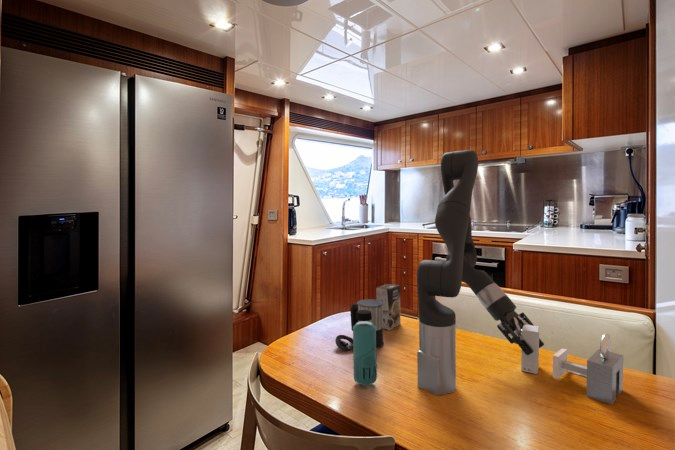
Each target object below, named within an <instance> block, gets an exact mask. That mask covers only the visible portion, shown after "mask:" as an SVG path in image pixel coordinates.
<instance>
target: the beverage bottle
mask: <svg viewBox="0 0 675 450" xmlns="http://www.w3.org/2000/svg"><path fill="white" fill-rule="evenodd" d="M356 319H357V320H359V321H361V322H358V323H356V324H355V325H354V326H353V331H352V339H353V350H352V351H353V354H352V355H353V356H352V358H353V359H352V360H353V362H352V364H353V381H354V382H355V383H357V384H359V385H363V386H364V385H366V386H369V385H372V384H375V383H376V381H377V379H378V370H377V369H378V364H377V359H378V358H377V357H378V356H377V348H376V346H377V345H376V344H377V341H376V327H375V326H374V325H373V324H372V323H371V322H367V321H369V320H371V319H372V316H371V311H369V310H359V311H357V316H356Z"/></svg>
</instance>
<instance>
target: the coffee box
mask: <svg viewBox="0 0 675 450" xmlns="http://www.w3.org/2000/svg"><path fill="white" fill-rule="evenodd" d="M375 296H376V300H380V301H382V302H384V304H383V330H386V329H387V331H391V330H393V329H395V328H396V327H398V326H400V325H401V285H399V284H393V283H390V284H389V283H386V284H384V285H380V286H377V287H376V293H375ZM399 324H400V325H399ZM394 327H395V328H394Z"/></svg>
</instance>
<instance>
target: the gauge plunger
mask: <svg viewBox="0 0 675 450" xmlns="http://www.w3.org/2000/svg"><path fill="white" fill-rule="evenodd" d="M568 370H570V371H574V372H577V373H580V374H584V375H587V365H582V364H578V363H575V362H571V361H568V349H567V348H561V349H559V350H558V351H556V352H555V353H554V354H553V355H552V378H554V379H555V380H559V379H560V378H561V377H562V376H563V375H564V374H565V373H568V372H567V371H568Z"/></svg>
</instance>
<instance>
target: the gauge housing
mask: <svg viewBox="0 0 675 450" xmlns="http://www.w3.org/2000/svg"><path fill="white" fill-rule="evenodd" d="M611 346H612V337H611V335H610V334H609V333H606V332H604V333H603V334H602V336H601V339H600V346H599V348H598V349H597V350H596V351H595V352H594V353H593V354H592V355H591V356H590V357H589V358H588V359H587V360H586V367H587V375H584V374H580V373H577V372H574V371H570V370H568V371H567V372H566V373H570V374H574V375H576V376H580V377H583V378H586V397H589V398H591V399H594V400H598V401H599V402H603V403H606V404H609V405H613V404H614V403H615V401H616V399H617V395H618V396H619V395H621V393H622V392H623V390H624V389H623V388H624V387H623V386H624V385H623V383H624V381H623V380H624V354H619V353H617V352H611V348H612V347H611Z"/></svg>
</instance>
